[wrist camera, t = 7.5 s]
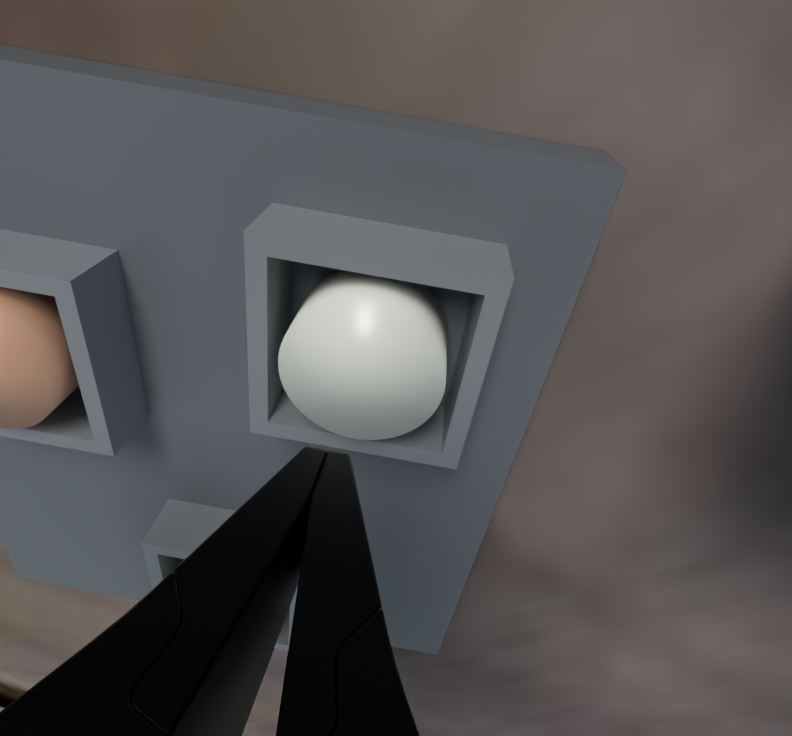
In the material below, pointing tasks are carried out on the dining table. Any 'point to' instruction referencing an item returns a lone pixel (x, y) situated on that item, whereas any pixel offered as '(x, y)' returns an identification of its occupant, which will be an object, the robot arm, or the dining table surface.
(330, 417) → the ivory button
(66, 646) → the dining table surface
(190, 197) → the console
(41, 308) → the terracotta button
